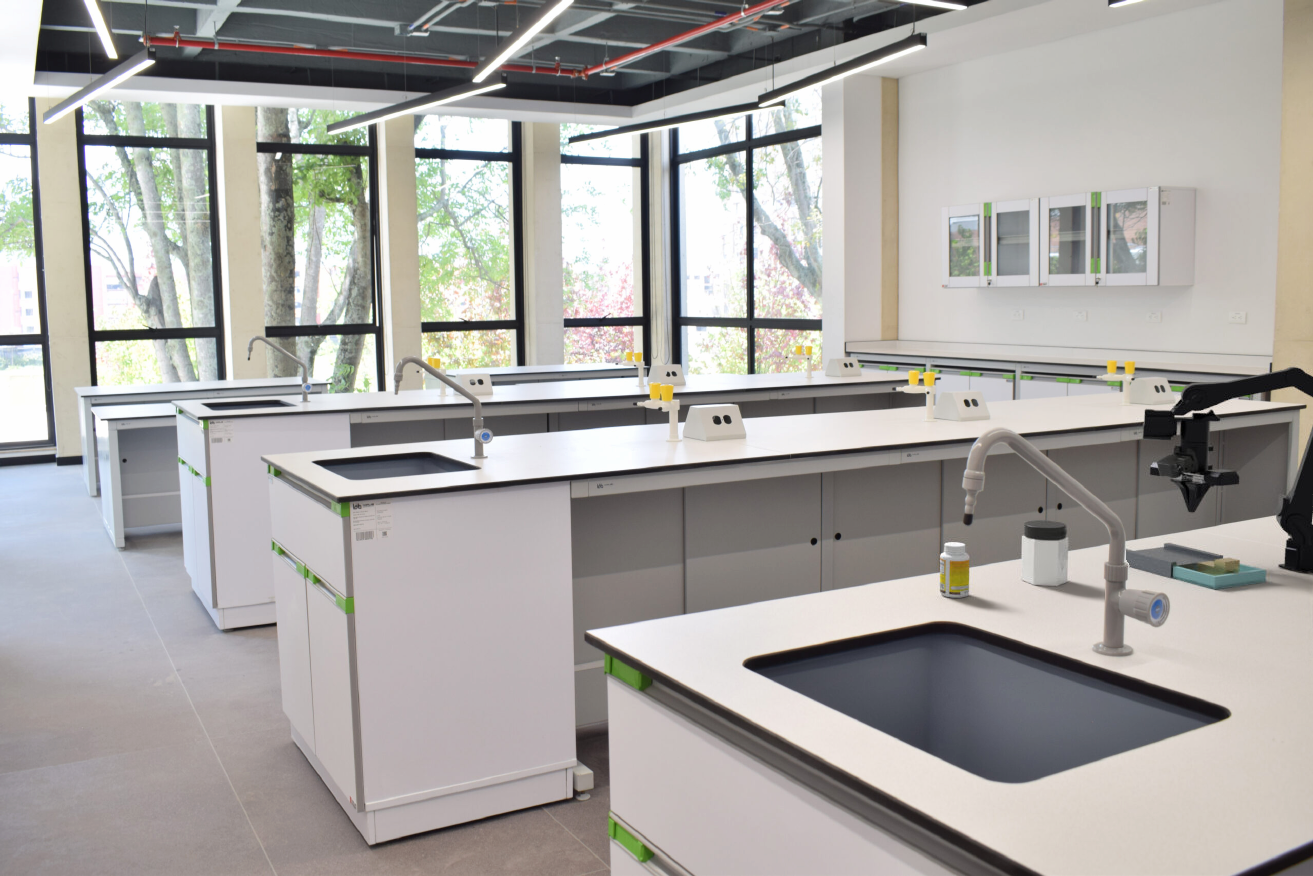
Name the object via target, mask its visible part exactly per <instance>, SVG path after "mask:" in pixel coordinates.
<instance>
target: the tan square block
mask: <svg viewBox="0 0 1313 876" xmlns="http://www.w3.org/2000/svg"><path fill="white" fill-rule="evenodd" d="M1197 572H1201V573H1205V574H1209V575H1213V576H1214V561H1207V562H1199V563H1197Z"/></svg>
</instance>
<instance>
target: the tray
mask: <svg viewBox="0 0 1313 876" xmlns="http://www.w3.org/2000/svg"><path fill="white" fill-rule="evenodd" d="M1172 579H1173V580H1177V581H1182V582H1184V583H1185V582H1186V583H1188V584H1192V585H1196V586H1200V587H1203V588H1207V589H1211V590H1215V591H1216V590H1221V589H1226V588H1232V587H1233V588H1234V587H1240V586H1246V585H1254V584H1261V583H1266V582H1267V581H1266V580H1267V569H1265V568H1264V569H1263V568H1260V567H1256V566H1251V565H1247V564H1243V563H1240V567H1239V572H1238V573H1231V574H1224V575H1217V576H1213V575H1209V574H1205V573H1201V572H1197V571H1194V570H1190V569H1186V568H1182V567H1178V566H1173V578H1172Z"/></svg>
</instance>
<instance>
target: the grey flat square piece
mask: <svg viewBox="0 0 1313 876" xmlns="http://www.w3.org/2000/svg"><path fill="white" fill-rule="evenodd" d="M1125 549H1126V560H1127V562H1128V563H1129V565H1130V567H1129V568H1131V569H1132V568H1133V569H1136V570H1138V571H1139V570H1140V571H1143V572H1148V573H1151V574H1155V575H1158V576H1162V577H1166V578H1168V579H1169V578H1170V579H1174V578H1173V566H1178V567H1182V568H1186V569H1190V570H1194V571H1197V563H1199V562H1207V561H1214V560H1215V559H1223V558H1224V555H1222V554H1218V553H1214V552H1211V551H1206V550H1201V549H1197V548H1193V547H1188V546H1185V545H1180V544H1177V543H1176V544H1175V543H1172V542H1165V543H1163V546H1162V547H1161V546H1160V547H1154V548H1153V547H1152V548H1144V549H1136V550H1132V549H1128V548H1125Z"/></svg>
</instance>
